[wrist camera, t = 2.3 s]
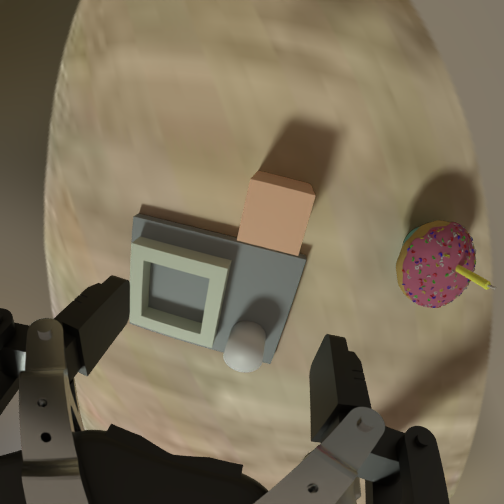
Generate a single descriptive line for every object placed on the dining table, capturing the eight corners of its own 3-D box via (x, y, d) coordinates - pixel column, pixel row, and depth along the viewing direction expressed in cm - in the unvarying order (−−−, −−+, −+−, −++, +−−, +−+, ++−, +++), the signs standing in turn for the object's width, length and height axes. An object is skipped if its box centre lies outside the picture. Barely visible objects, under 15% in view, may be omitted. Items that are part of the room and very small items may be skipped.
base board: (305, 255, 30) (308, 278, 25) (270, 357, 35) (267, 387, 30) (138, 213, 30) (113, 228, 26) (133, 318, 36) (115, 342, 31)
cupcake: (426, 192, 26) (494, 228, 15) (465, 247, 27) (526, 299, 16) (369, 250, 29) (408, 315, 18) (413, 298, 30) (455, 368, 19)
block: (310, 183, 27) (315, 195, 22) (296, 232, 29) (298, 255, 24) (258, 170, 27) (250, 178, 22) (246, 220, 29) (236, 240, 24)
